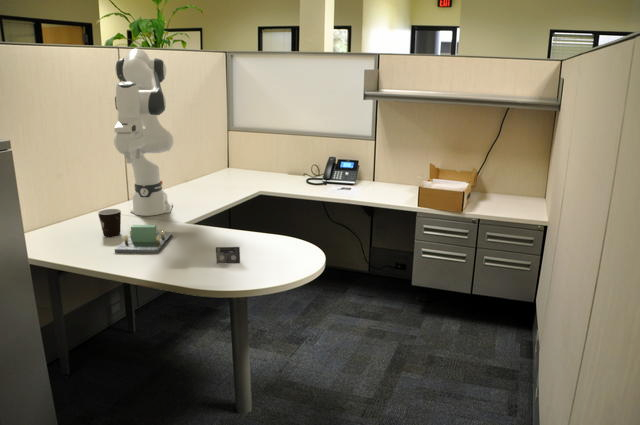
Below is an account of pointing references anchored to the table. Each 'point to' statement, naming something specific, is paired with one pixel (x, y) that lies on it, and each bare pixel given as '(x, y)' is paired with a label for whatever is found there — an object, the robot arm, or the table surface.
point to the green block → (143, 233)
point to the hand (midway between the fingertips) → (134, 160)
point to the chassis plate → (144, 244)
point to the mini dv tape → (227, 255)
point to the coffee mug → (110, 222)
